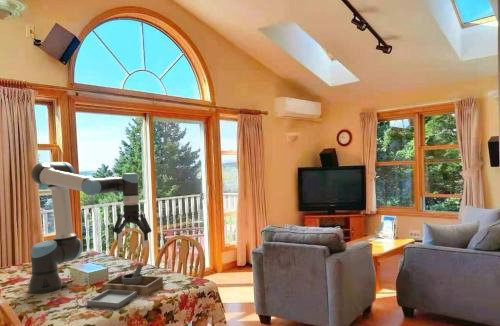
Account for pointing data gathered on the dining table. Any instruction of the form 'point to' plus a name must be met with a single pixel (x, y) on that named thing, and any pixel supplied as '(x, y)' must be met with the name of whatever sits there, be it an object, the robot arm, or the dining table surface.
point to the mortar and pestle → (133, 277)
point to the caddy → (150, 281)
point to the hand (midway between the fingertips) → (132, 246)
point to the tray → (112, 299)
